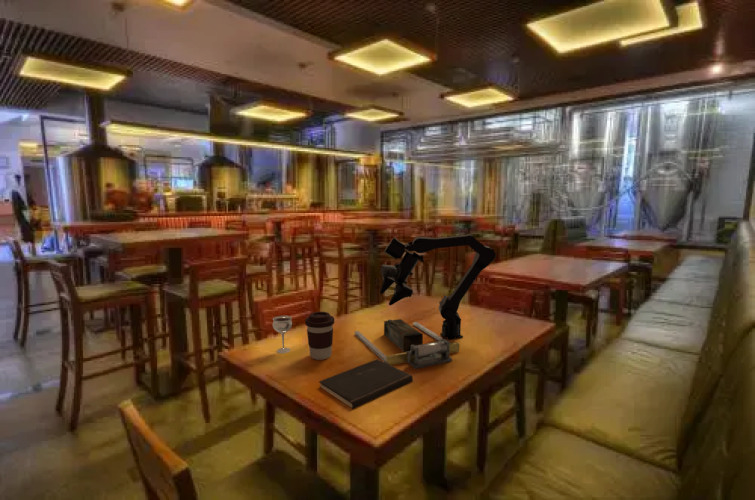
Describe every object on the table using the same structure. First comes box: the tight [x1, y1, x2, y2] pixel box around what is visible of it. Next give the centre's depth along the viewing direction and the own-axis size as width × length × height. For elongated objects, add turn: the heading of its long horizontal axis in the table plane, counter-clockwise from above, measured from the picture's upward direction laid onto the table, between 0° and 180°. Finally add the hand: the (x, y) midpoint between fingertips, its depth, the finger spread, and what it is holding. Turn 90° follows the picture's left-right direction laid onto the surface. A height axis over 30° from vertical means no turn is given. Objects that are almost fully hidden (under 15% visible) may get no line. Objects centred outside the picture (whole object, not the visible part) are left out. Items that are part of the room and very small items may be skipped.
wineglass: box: [272, 314, 293, 354], centre depth 141 cm, size 7×7×12 cm
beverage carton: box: [383, 318, 424, 353], centre depth 149 cm, size 8×19×7 cm, turn 21°
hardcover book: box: [318, 358, 414, 410], centre depth 117 cm, size 16×23×2 cm
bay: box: [354, 321, 460, 366], centre depth 149 cm, size 28×31×3 cm
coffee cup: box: [304, 311, 335, 361], centre depth 136 cm, size 10×10×15 cm
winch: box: [405, 338, 453, 370], centre depth 131 cm, size 16×5×6 cm, turn 114°
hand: (385, 299), depth 154 cm, fingers open, 9 cm apart
